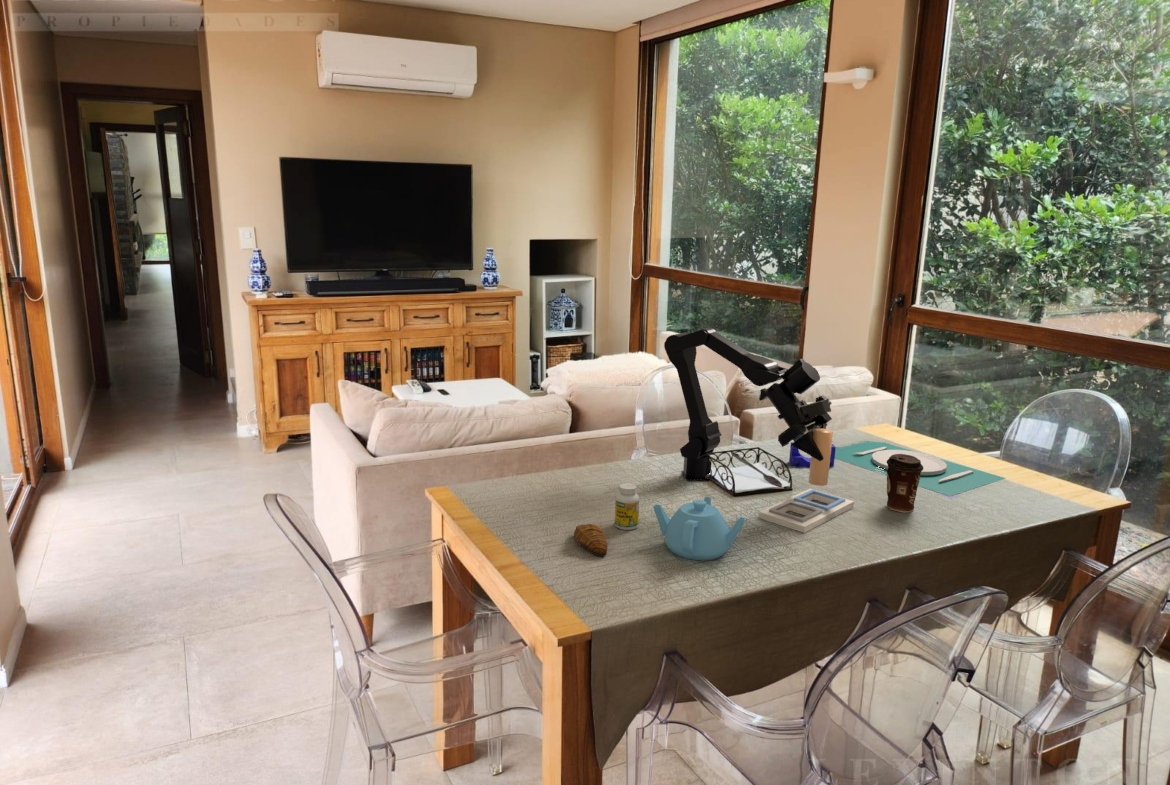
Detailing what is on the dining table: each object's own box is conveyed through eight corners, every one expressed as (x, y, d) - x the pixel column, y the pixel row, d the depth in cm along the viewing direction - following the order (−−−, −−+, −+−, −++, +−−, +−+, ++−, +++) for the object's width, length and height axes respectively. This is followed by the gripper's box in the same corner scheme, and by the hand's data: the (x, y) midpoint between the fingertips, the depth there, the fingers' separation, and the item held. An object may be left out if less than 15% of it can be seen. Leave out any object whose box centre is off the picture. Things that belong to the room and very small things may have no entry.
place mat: (811, 455, 245) (812, 447, 244) (873, 440, 262) (874, 433, 261) (951, 501, 209) (952, 493, 209) (1012, 481, 226) (1013, 473, 226)
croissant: (563, 535, 179) (564, 514, 178) (591, 531, 182) (592, 510, 181) (588, 561, 167) (588, 538, 166) (617, 556, 170) (618, 533, 168)
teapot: (647, 540, 178) (649, 493, 176) (706, 530, 184) (709, 485, 182) (683, 569, 165) (686, 519, 162) (745, 557, 171) (749, 509, 168)
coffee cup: (874, 507, 202) (880, 457, 198) (888, 499, 207) (894, 450, 204) (909, 517, 196) (916, 465, 193) (923, 508, 202) (929, 458, 199)
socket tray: (804, 532, 184) (805, 524, 184) (758, 517, 192) (759, 509, 192) (853, 506, 201) (854, 498, 201) (809, 493, 209) (810, 486, 209)
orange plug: (816, 486, 194) (821, 434, 191) (804, 480, 198) (810, 429, 195) (831, 484, 196) (836, 432, 193) (819, 478, 200) (824, 427, 197)
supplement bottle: (640, 523, 187) (642, 483, 185) (634, 532, 182) (636, 491, 180) (618, 520, 188) (619, 480, 186) (611, 528, 183) (613, 488, 181)
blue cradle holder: (791, 467, 231) (793, 446, 229) (789, 462, 235) (790, 442, 234) (834, 469, 230) (837, 448, 229) (831, 464, 235) (833, 444, 233)
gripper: (795, 392, 187) (836, 448, 183) (827, 380, 201) (866, 432, 197) (761, 418, 194) (800, 473, 190) (795, 405, 208) (832, 455, 204)
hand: (826, 457), depth 195 cm, fingers closed on orange plug, 4 cm apart
